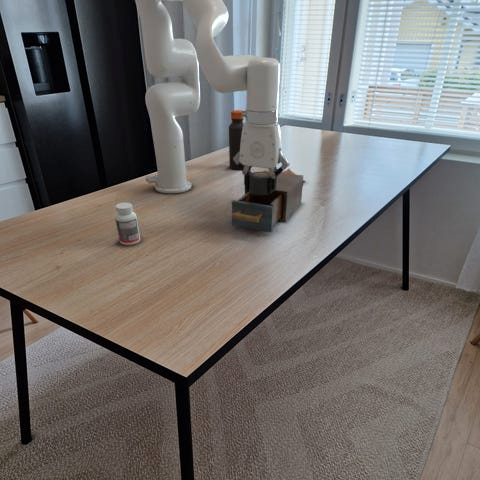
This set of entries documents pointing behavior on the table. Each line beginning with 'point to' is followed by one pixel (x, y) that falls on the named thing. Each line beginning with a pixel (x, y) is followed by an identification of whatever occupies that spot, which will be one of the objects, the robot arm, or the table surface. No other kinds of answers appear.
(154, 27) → the robot arm
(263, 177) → the tape roll
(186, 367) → the table surface
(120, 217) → the pill bottle
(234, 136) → the vinegar
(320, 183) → the table surface
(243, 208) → the drawer
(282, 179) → the cabinet
